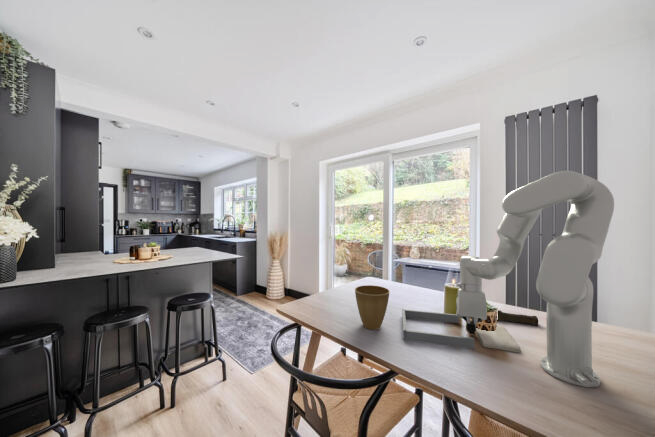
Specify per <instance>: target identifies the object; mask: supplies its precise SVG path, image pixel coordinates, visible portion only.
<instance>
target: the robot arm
mask: <svg viewBox="0 0 655 437" xmlns="http://www.w3.org/2000/svg"><path fill="white" fill-rule="evenodd" d="M563 202H568V203H569V205H570V209H569V212H568V214H567V217H566V219H565V224H564V227H563V229H562V230H563V231H562V233H561V235H558V236H556V237H555V238H553V239H551V241H550V242H548V244H547V246H546V248H545V250H544V253H543V257H542V260H541V264H540V266H539V271H538V274H537V277H536V281H535V287H536V291H537V293H538V294H539V296H540V298H542V299H543V300H544V301H545V302H546V357H542V358H541V359H540V366H541V368H542V369H543V370H544V371H545V372H546V373H548V374H549V375H550V376H553V377H554V378H557V379H559V380H561V381H564V382H566V383H568V384H571V385H575V386H579V387H584V388H585V387H586V388H596V387H599V386H600V385H601V377H599V375H598V374H597V373H596V372H594V369H593V361H592V360H593V356H592V355H593V354H592V353H593V352H592V350H593V347H592V346H593V345H592V344H593V343H592V336H593V335H592V326H593V325H592V324H593V322H592V321H593V317H592V316H593V314H592V313H593V302H594V284H593V282H592V280H591V278H590V277H589V275H590V272H591V269H592V266H593V264H596V263H597V262H598V261H599V260H600V258H601V256H602V254H603V249H604V245H605V243H606V240H607V235H608V232H609V229H610V226H611V222H612V221H611V220H612V218H613V215H614V210H615V198H614V196H613V193H612V192H611V190H610V188H608V187H607V186H606V185H605V184H604V183H602V182H601V181H600V180H597V179H596V178H593V177H591V176H589V175H586V174H583V173H580V172H577V171H575V170H561V171H556V172H552V173H550V174H548V175H546V176H544V177H541V178H539V179H537V180H535V181H532V182H529V183H528V184H525V185H523V186H521V187H519V188H516V189H514V190H512V191H510V192H509V193H507V195H505V196H504V198H502V203H501V207H502V209H503V211H504V212H505V214H504V215H503V217H502V219H501V221H500V223H499V224H498V226H497V229H496V234H497V236H498V238H499V244H498V247H497V249H496V251H495V253H494V254H493V256H492V257H488V258H480V257H479V256H477V255H476V256H475V255H462V256H460V258H459V282H458V283H455V286H456V288H457V287H458V288H457V294H456V304H455V306H456V307H455V308H456V312H455V314H456V316H457V317H459V319H460V318H461V319H463V320H464V321H465V322H466V331H467V332H468V333H469V334H470V335H476V333H475V332H476V324H477V323H479V322H481V321H485V320H486V321H487V319H488V318H487V311H488V306H487V297H486V293H485V291H484V290H483V281H482V280H483V279H484V280H489V281H494V280H497V279H499V278H501V277H505V276H507V275H508V274H510V273H511V271H512V270H513V269H514V267H515V265H516V264H517V263H518V260H519V259H520V256H521V254H522V252H523V248H524V245H525V241H526V239H527V237H528V235H529V234H530V232H531V230H532V228H533V226H534V224H535V223H536V221H537V219H538V218H539V217H540V215H541V213H542V211H543V209H546V208H549V207H552V206H555V205H557V204H560V203H561V204H562V203H563Z"/></svg>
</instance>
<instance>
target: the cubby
mask: <svg viewBox="0 0 655 437" xmlns="http://www.w3.org/2000/svg"><path fill="white" fill-rule="evenodd" d="M401 315H402V317H401V318H402V321H401V322H402V336H403V337H402V339H403V340H404V341H411V342H416V343H425V344H433V345H434V344H435V345H440V346H447V347H448V346H449V347H456V348H463V349H471V350H474V349H475V338H474V337H469V336H461V335H460V336H459V335H452V334H451V335H450V334H444V333H433V332H429V331H428V332H427V331H426V332H425V331H418V330H409V329H407V319H413V320H422V321H424V320H425V321H432V322H442V323H443V322H444V323H452V324H460V318H459V317H457V316H456V313H455V314H454V313H443V312H442V313H441V312H435V311H434V312H433V311H426V310H425V311H424V310H414V309H412V310H411V309H402V310H401Z"/></svg>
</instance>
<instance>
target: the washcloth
mask: <svg viewBox="0 0 655 437" xmlns="http://www.w3.org/2000/svg"><path fill="white" fill-rule="evenodd" d="M496 326H497V327H496V330H495V331H486V330H481V329H478V328H476V331H477V333H475V335H476V336H477V338H478V340H479V342H480V344H481V346H482V347H484V348H488V349H498V350H503V351H508V352H515V353H521V352H522V349H521V347H520V345H519V344H518V343H517V341H516V340H515V339H514V338H513V336H512V335H511V334H510V333H509V331H508V330H507V329H506V327H505V326H502V325H496Z"/></svg>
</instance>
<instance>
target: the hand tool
mask: <svg viewBox="0 0 655 437" xmlns="http://www.w3.org/2000/svg"><path fill="white" fill-rule="evenodd" d="M497 310H498V320H497V321H498V322H502V321H508V322H515V323H521V324H528V325H535V326H536V327H538V326H539V319H538V316H536V315H527V314H521V313H519V314H515V313H511V312H504V311H502V310H499V309H497Z"/></svg>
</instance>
